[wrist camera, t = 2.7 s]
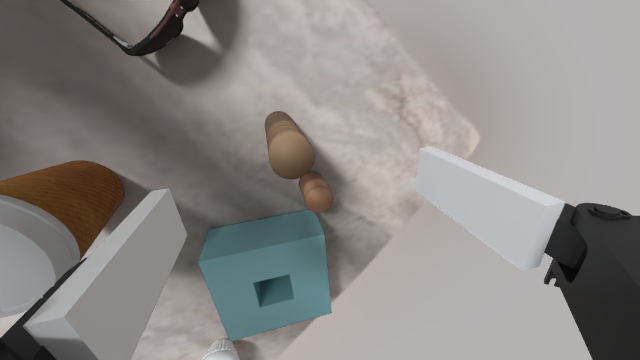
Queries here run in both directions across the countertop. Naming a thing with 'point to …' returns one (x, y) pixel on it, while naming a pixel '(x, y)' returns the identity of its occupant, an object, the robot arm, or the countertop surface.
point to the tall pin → (287, 147)
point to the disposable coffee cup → (50, 226)
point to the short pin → (315, 192)
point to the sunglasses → (157, 37)
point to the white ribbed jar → (221, 351)
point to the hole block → (267, 272)
